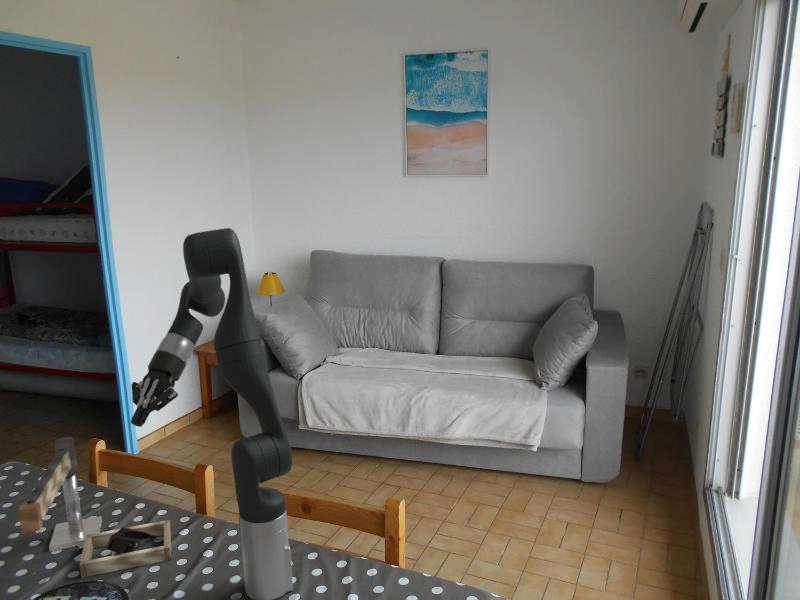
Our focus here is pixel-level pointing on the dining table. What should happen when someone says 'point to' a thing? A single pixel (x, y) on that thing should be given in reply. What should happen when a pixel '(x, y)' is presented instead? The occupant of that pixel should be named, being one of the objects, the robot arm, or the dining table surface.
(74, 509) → the arm post
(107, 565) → the frame
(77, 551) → the dining table surface
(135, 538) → the power plug
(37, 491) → the bar
